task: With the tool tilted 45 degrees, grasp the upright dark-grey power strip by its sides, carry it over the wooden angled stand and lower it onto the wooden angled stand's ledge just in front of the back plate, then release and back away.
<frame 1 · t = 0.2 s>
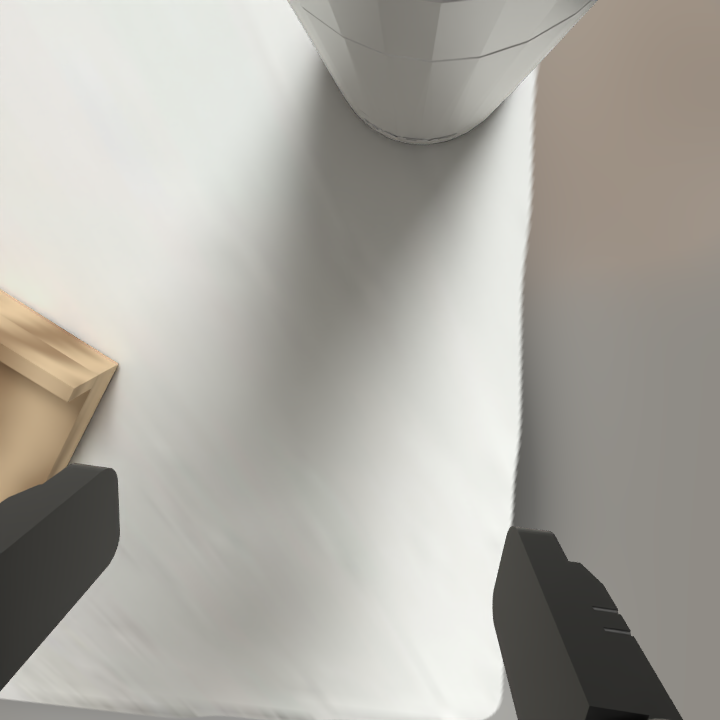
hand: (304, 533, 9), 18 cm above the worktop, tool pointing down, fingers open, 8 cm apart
wooden angled stand: (7, 409, 30), on the worktop
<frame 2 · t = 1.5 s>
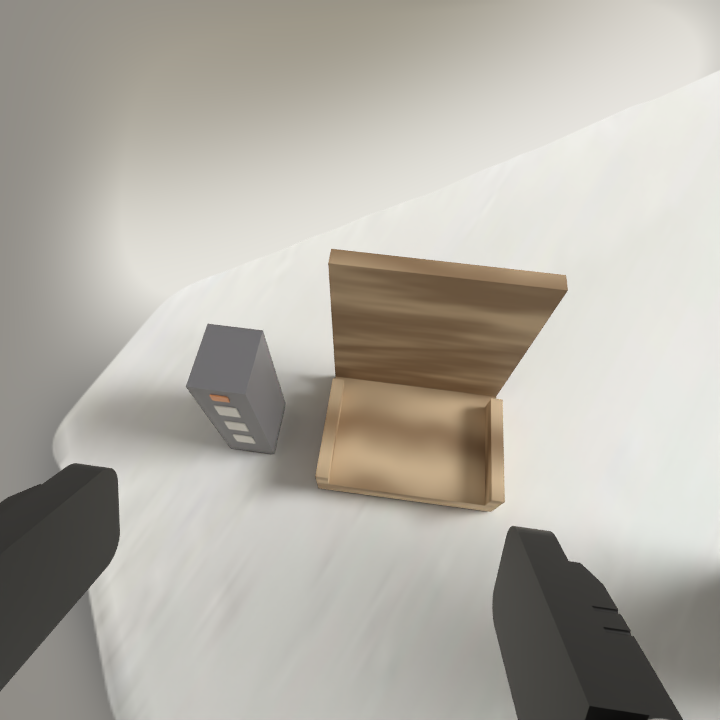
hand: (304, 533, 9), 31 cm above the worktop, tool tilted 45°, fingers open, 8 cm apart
wooden angled stand: (408, 444, 42), on the worktop
power strip: (258, 425, 43), on the worktop
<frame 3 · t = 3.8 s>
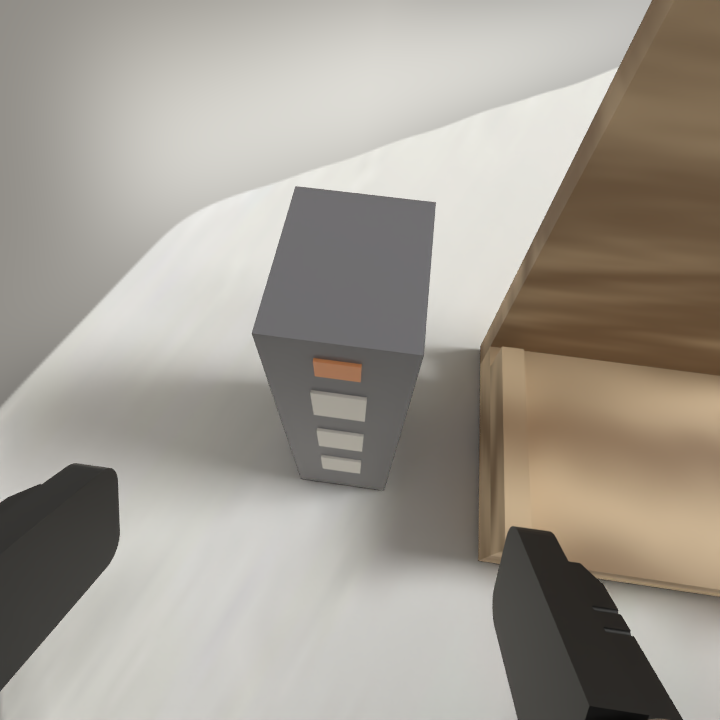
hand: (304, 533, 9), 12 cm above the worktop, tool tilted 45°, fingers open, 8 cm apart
wooden angled stand: (632, 473, 22), on the worktop
power strip: (349, 435, 23), on the worktop
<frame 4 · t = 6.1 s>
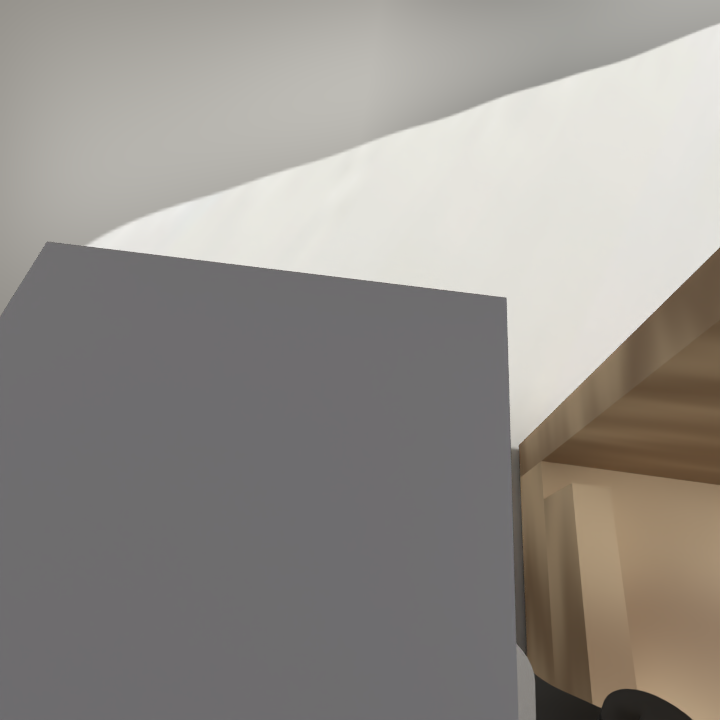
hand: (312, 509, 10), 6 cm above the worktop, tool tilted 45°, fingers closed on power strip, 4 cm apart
power strip: (313, 611, 14), on the worktop, touching gripper
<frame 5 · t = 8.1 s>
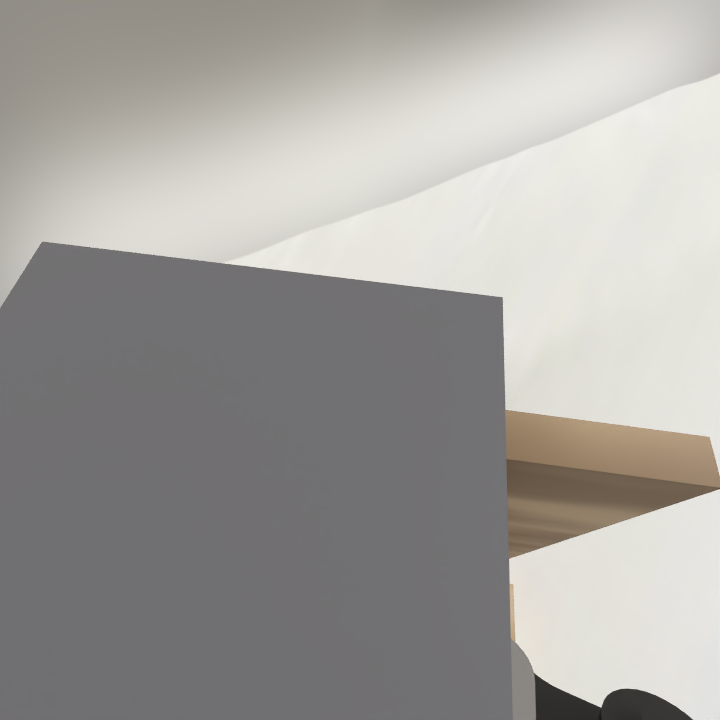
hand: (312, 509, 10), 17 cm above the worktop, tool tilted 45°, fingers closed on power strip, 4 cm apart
wooden angled stand: (344, 650, 24), on the worktop
power strip: (312, 611, 14), point 12 cm above the worktop, touching gripper
when the fingers open (9 cm above the worktop, at t = 10.4 s): power strip drops 1 cm, resting on wooden angled stand.
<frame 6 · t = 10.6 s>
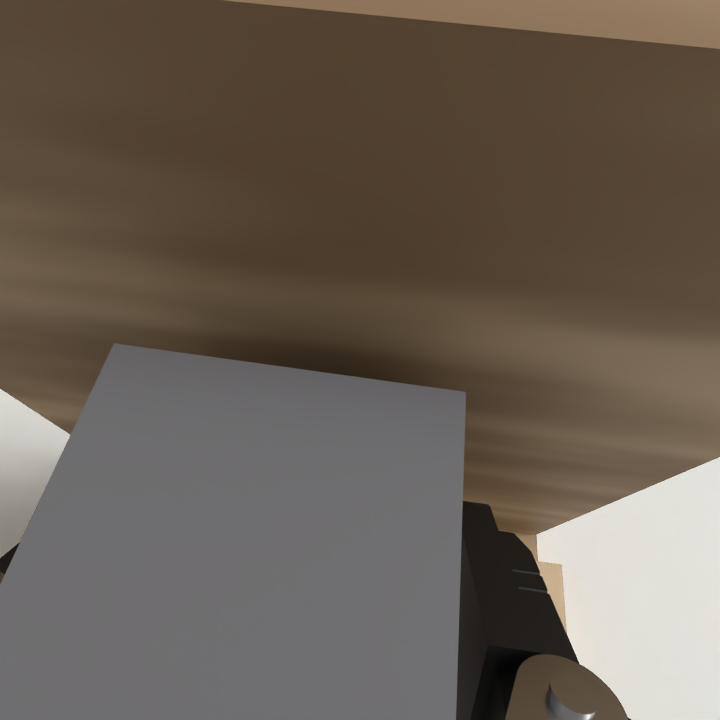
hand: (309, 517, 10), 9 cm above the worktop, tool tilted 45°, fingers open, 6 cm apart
wooden angled stand: (312, 660, 16), on the worktop
power strip: (314, 617, 15), point 2 cm above the worktop, touching wooden angled stand
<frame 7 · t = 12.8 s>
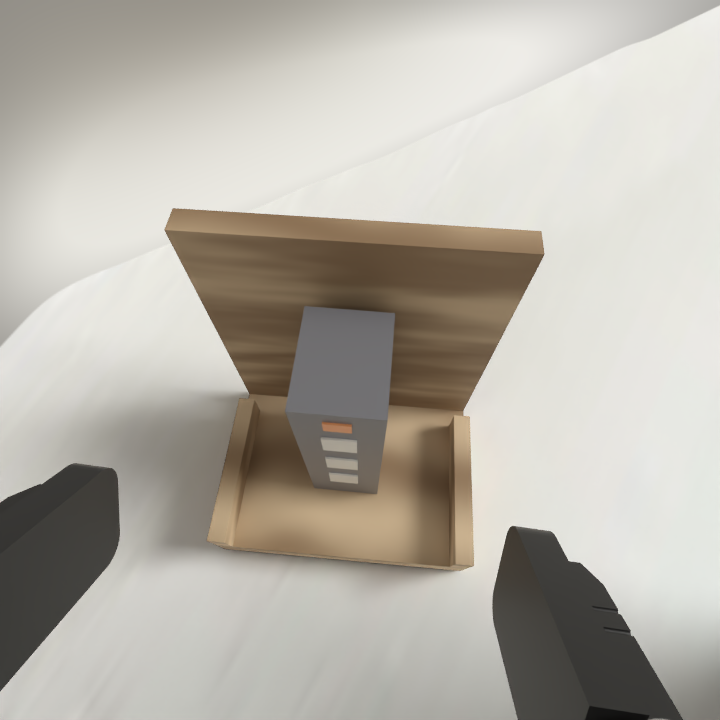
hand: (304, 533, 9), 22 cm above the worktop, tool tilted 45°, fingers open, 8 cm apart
wooden angled stand: (349, 480, 32), on the worktop
power strip: (349, 452, 30), point 2 cm above the worktop, touching wooden angled stand
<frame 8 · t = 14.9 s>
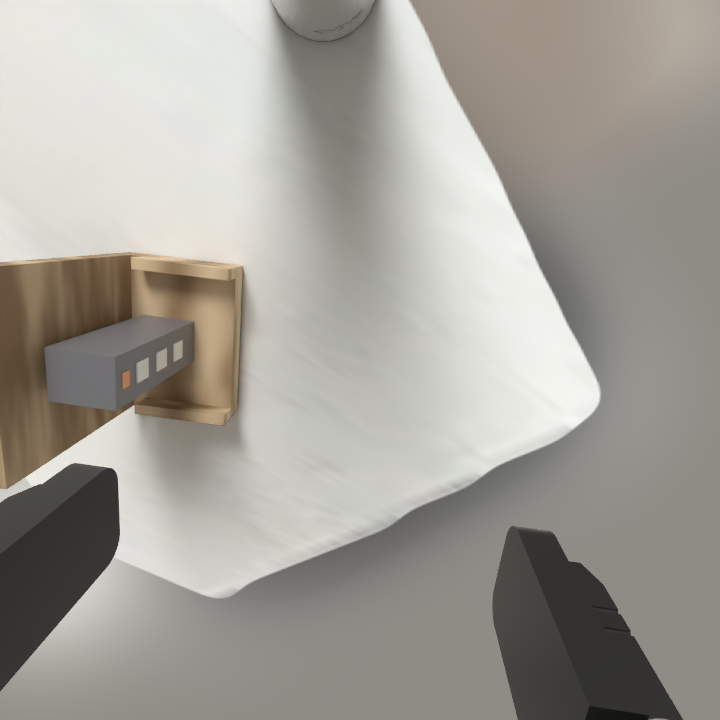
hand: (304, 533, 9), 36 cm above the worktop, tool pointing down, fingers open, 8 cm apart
wooden angled stand: (191, 335, 46), on the worktop
power strip: (168, 338, 45), point 2 cm above the worktop, touching wooden angled stand
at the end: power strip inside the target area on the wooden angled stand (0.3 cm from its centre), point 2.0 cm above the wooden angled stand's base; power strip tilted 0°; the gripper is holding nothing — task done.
